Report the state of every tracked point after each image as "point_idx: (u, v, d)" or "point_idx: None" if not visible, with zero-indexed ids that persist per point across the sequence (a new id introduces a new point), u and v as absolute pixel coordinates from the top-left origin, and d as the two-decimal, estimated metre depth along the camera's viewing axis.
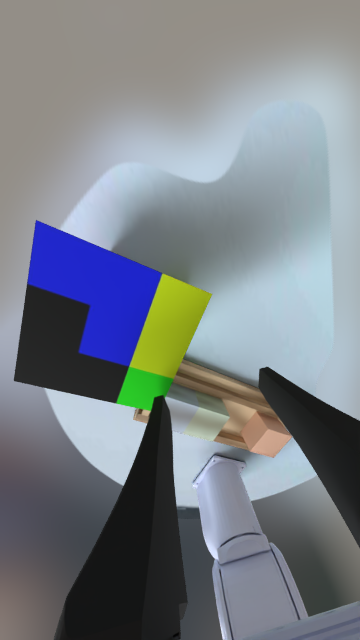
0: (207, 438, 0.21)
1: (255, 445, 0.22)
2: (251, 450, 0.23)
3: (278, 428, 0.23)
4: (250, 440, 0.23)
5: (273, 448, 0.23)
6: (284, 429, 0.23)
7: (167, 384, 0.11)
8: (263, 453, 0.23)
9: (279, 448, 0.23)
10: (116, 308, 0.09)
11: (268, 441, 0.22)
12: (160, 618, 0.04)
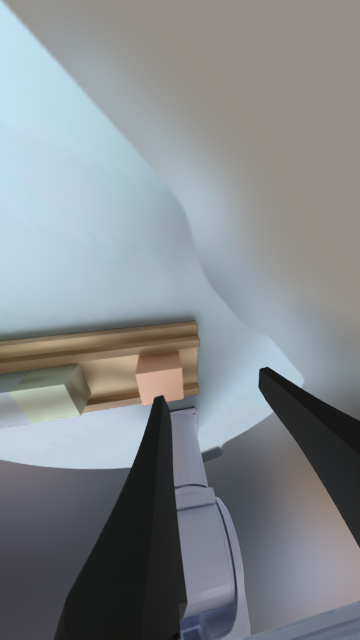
0: (68, 415, 0.16)
1: (141, 397, 0.17)
2: (143, 404, 0.17)
3: (161, 366, 0.16)
4: None
5: (171, 390, 0.17)
6: (175, 362, 0.17)
7: None
8: None
9: (179, 387, 0.17)
10: None
11: (153, 386, 0.16)
12: (160, 618, 0.04)
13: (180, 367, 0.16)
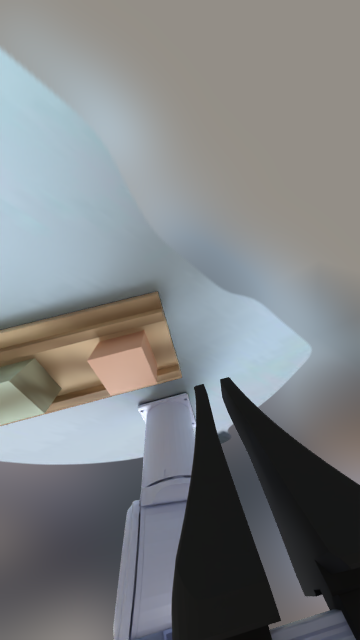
0: (31, 413, 0.15)
1: (106, 386, 0.14)
2: (111, 393, 0.15)
3: (119, 348, 0.14)
4: None
5: (138, 375, 0.14)
6: (136, 342, 0.14)
7: None
8: (133, 387, 0.15)
9: (146, 370, 0.14)
10: None
11: (114, 372, 0.14)
12: None
13: (140, 346, 0.13)
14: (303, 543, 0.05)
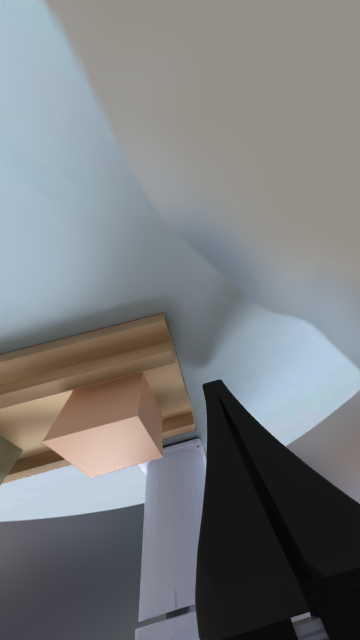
0: None
1: (81, 468, 0.09)
2: (90, 475, 0.10)
3: (100, 413, 0.08)
4: None
5: (133, 451, 0.09)
6: (129, 400, 0.08)
7: None
8: (126, 465, 0.10)
9: (147, 444, 0.09)
10: None
11: (93, 451, 0.08)
12: None
13: (135, 414, 0.08)
14: (285, 549, 0.05)
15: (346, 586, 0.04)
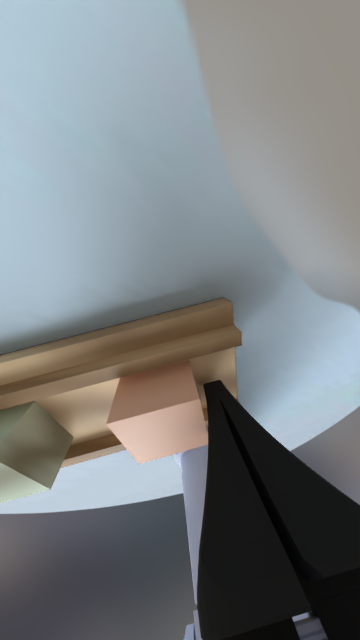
0: (29, 492, 0.09)
1: (133, 453, 0.09)
2: (139, 461, 0.10)
3: (158, 397, 0.08)
4: None
5: (185, 437, 0.09)
6: (185, 385, 0.08)
7: None
8: (174, 451, 0.10)
9: (199, 429, 0.09)
10: None
11: (149, 436, 0.08)
12: None
13: (196, 397, 0.08)
14: (284, 549, 0.05)
15: (345, 586, 0.04)
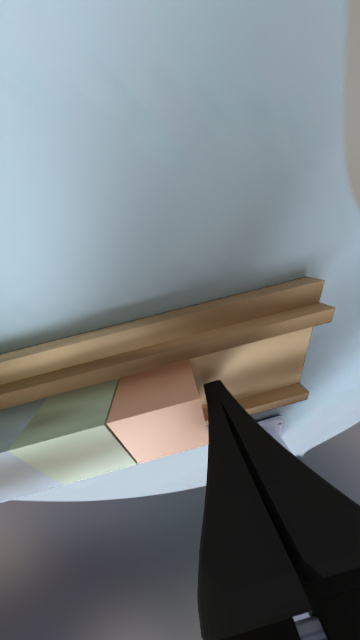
0: (118, 466, 0.09)
1: (133, 453, 0.09)
2: (139, 461, 0.10)
3: (158, 397, 0.08)
4: None
5: (185, 436, 0.09)
6: (185, 385, 0.08)
7: None
8: (175, 451, 0.10)
9: (200, 429, 0.09)
10: None
11: (150, 435, 0.08)
12: None
13: (196, 397, 0.08)
14: None
15: (344, 587, 0.04)
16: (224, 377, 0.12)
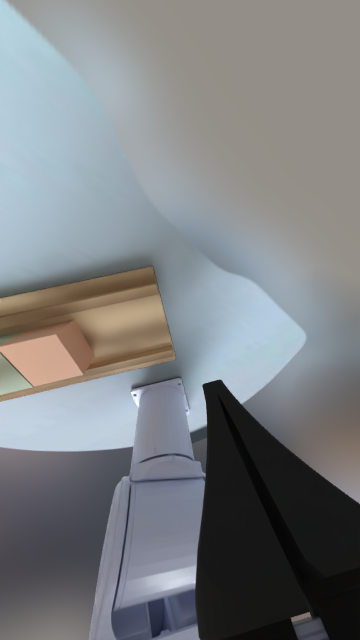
0: (18, 387, 0.14)
1: (26, 376, 0.14)
2: (33, 384, 0.14)
3: (35, 335, 0.13)
4: None
5: (59, 365, 0.14)
6: (56, 330, 0.13)
7: None
8: (58, 378, 0.14)
9: (68, 360, 0.14)
10: None
11: (32, 361, 0.13)
12: None
13: (54, 334, 0.13)
14: (285, 549, 0.05)
15: (346, 586, 0.04)
16: (107, 336, 0.17)
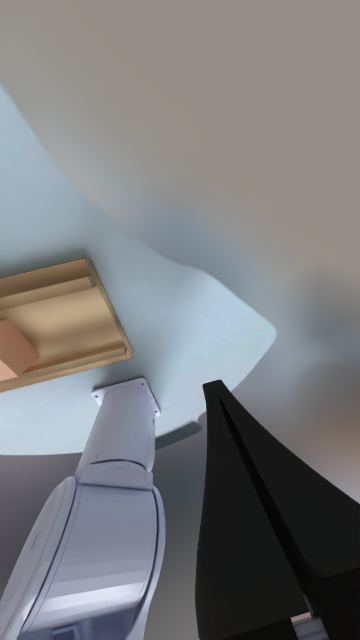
0: None
1: None
2: None
3: None
4: None
5: None
6: None
7: None
8: None
9: None
10: None
11: None
12: None
13: None
14: (285, 548, 0.05)
15: (346, 586, 0.04)
16: (50, 335, 0.16)
